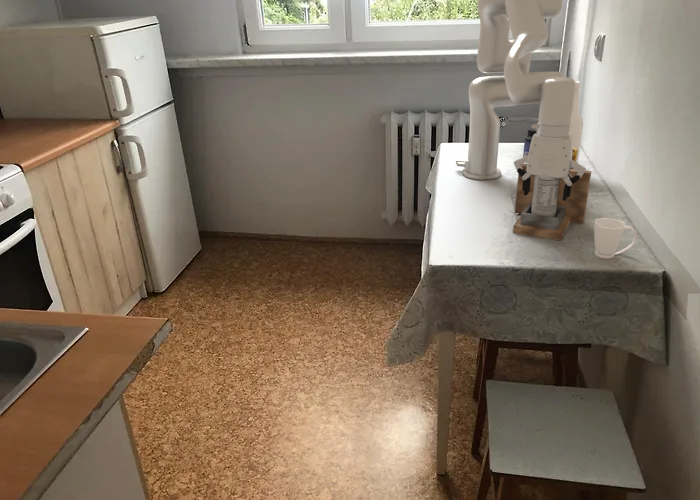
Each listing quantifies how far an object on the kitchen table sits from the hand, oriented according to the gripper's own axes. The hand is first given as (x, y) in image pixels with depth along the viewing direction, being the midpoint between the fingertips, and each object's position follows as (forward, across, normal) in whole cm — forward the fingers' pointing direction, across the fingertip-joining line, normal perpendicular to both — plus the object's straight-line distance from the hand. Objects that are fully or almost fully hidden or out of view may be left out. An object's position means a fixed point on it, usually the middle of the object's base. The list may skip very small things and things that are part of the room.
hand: (545, 196), depth 148 cm
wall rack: (+9, 0, +2) cm, 9 cm away
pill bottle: (+9, -17, +60) cm, 63 cm away
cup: (+9, +18, -9) cm, 22 cm away
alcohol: (+9, -4, +46) cm, 47 cm away
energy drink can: (+7, 0, 0) cm, 7 cm away
